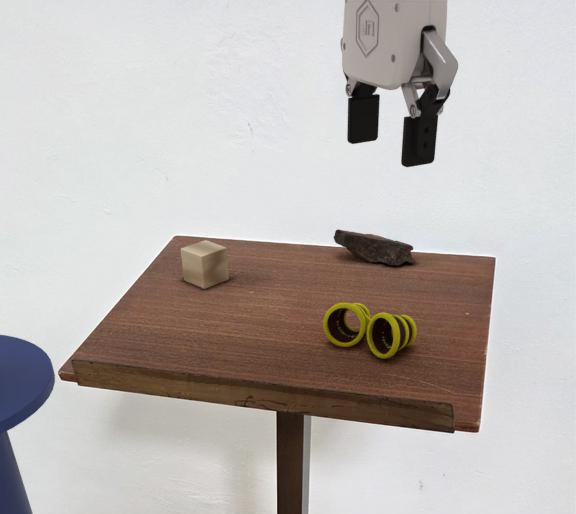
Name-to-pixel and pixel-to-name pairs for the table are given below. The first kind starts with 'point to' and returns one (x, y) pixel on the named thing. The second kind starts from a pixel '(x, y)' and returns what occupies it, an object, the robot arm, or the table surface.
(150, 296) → the table surface
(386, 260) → the rock
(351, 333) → the opera glasses
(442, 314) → the table surface
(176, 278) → the table surface
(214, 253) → the pale wood block
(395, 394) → the table surface
